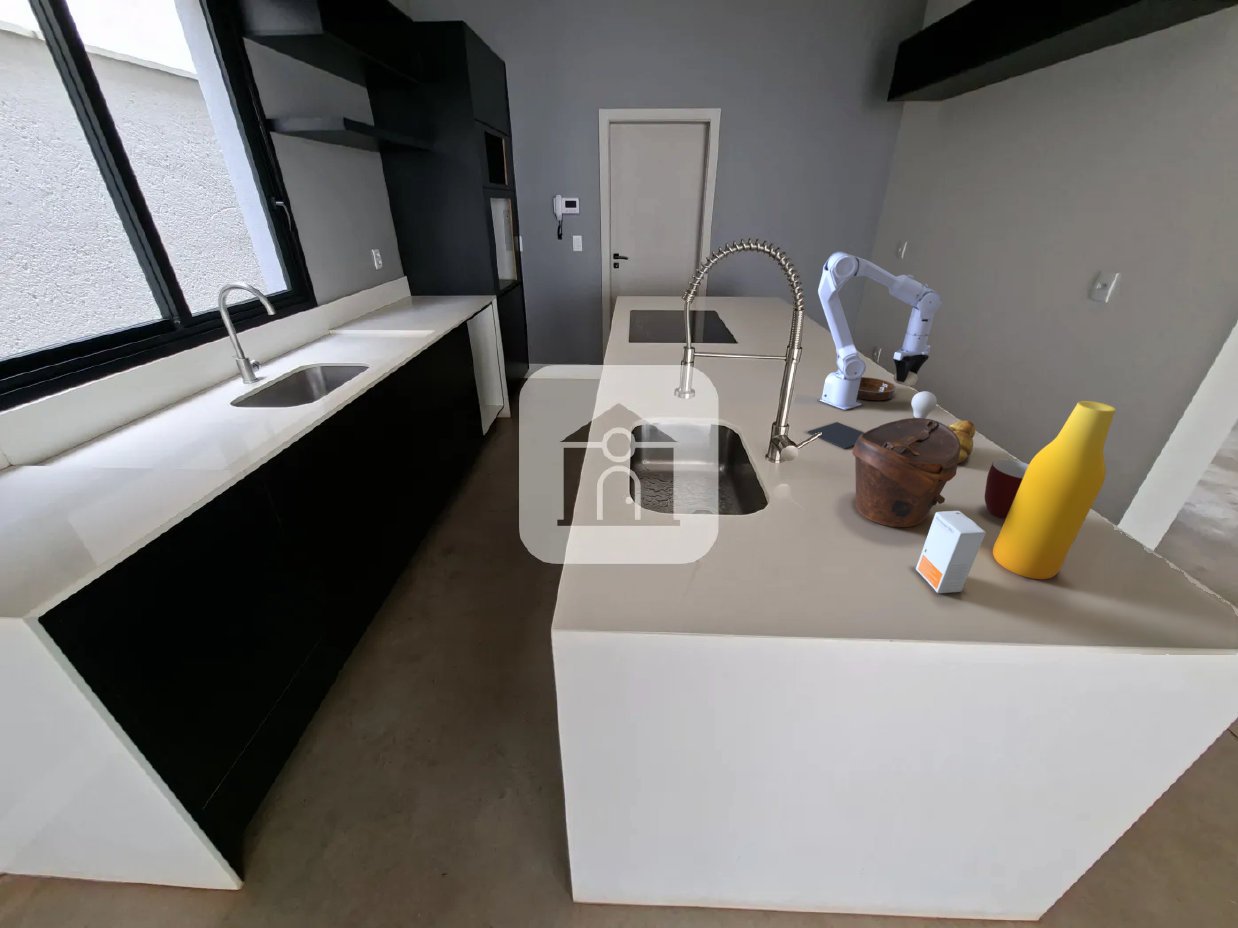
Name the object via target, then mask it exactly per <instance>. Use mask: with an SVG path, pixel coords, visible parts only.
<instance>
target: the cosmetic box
mask: <svg viewBox="0 0 1238 928" xmlns="http://www.w3.org/2000/svg"><path fill="white" fill-rule="evenodd" d="M986 534H987V533H986V530H984V529H983V528H981V527H980V526H979V525H978V524H977V523H976V522H975V521H974V520H972V519H971V518H969V517H968V516H967V515H965V514H964V513H963V512H962V511H960V510H948V511H946V510H945V511H936V512H935V513H934V516H933V518H932V522H931V525H930V528H929V530H928V534H927V536H926V539H925V542H924V543H923V544H924V545H923V546H922V550H921V553H920V556H919V558H918V561H917V564H916V567H915V570H916V572H917V573H919V574H920V576H921V577H922V578H923V580H925V581H926V582H927V583H928V584H929V585H930V587H931V588H932V589H933V590H934V591H935V592H936V593H937V594H947V593H960V592H962V591H963V589H964V587H965V585H966V582H967V579H968V578H969V577H968V576H969V574H970V572H971V569H972V567H973V566H974V562H975V561H976V558H977V555H978V553H979V550H980V547H981V545H982V543H983V542H984V541H983V540H984V539H985V536H986Z"/></svg>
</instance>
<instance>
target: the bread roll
mask: <svg viewBox="0 0 1238 928" xmlns="http://www.w3.org/2000/svg"><path fill="white" fill-rule="evenodd" d="M946 426H947V427H948V428H950V429H951V430H952V431H953V432H954V433H955V434H956V436H957V437H958V439H959V441H960V444H961V451H960V455H959V459H958V463H957V464H962V463H963V462H964V461H965V460H966V459H967V458H968V456H970V455H971V453H972V451H973V448H974V439H973V438H974V437H975V434H976V425H974V423H973V422H972V421H970V420H967V419H966V420H965V419H964V420H959V421H956V422H954V423H952V424H950V425H946Z"/></svg>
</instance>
